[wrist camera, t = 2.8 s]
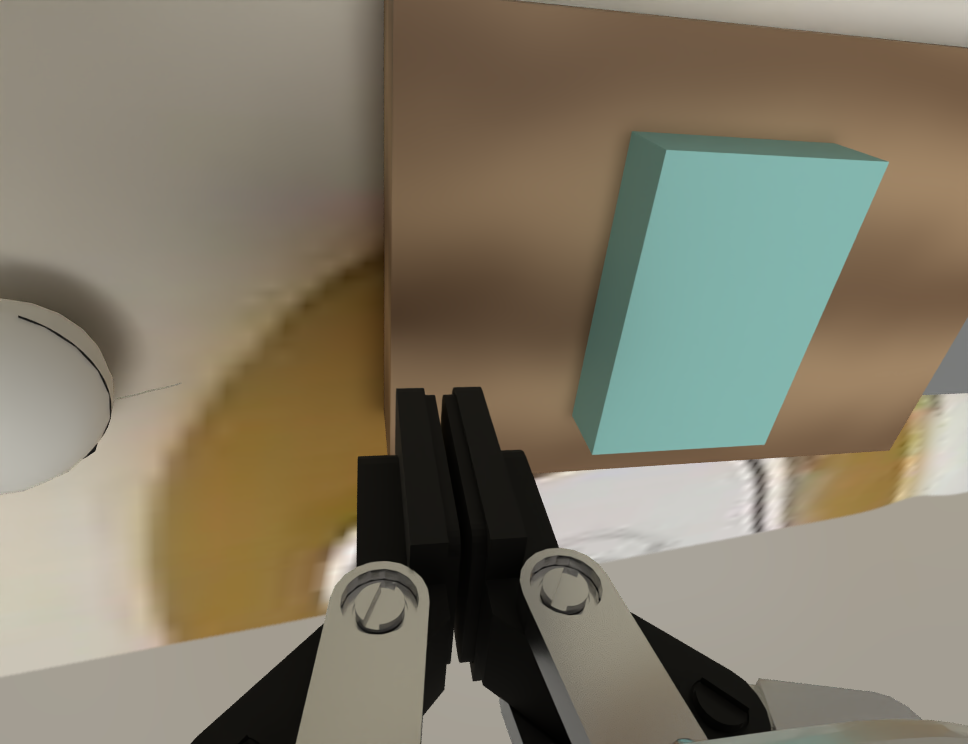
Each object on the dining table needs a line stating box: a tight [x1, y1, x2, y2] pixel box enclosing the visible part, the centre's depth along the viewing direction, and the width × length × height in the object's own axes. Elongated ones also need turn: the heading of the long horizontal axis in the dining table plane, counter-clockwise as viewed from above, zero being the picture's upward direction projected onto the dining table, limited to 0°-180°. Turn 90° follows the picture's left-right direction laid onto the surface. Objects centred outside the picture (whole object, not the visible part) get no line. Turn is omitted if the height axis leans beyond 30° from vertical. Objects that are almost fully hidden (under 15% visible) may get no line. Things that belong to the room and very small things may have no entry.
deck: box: [384, 0, 968, 474], centre depth 20 cm, size 14×20×4 cm
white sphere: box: [0, 299, 181, 494], centre depth 17 cm, size 8×6×6 cm
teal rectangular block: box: [572, 131, 889, 455], centre depth 17 cm, size 9×6×2 cm, turn 175°
